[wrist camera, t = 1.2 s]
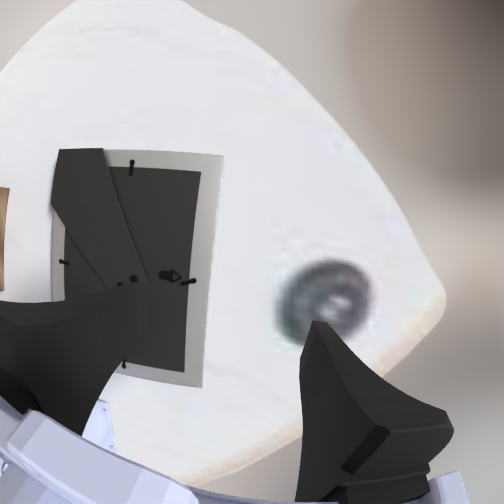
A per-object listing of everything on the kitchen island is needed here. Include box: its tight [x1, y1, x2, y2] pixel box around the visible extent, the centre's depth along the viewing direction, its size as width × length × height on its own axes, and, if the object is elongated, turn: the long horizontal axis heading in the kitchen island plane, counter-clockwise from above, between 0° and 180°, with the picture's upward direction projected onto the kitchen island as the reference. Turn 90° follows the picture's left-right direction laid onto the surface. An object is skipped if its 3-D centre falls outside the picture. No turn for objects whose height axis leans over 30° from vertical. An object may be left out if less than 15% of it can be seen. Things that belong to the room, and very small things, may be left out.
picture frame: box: [51, 148, 225, 388], centre depth 22 cm, size 16×3×21 cm
